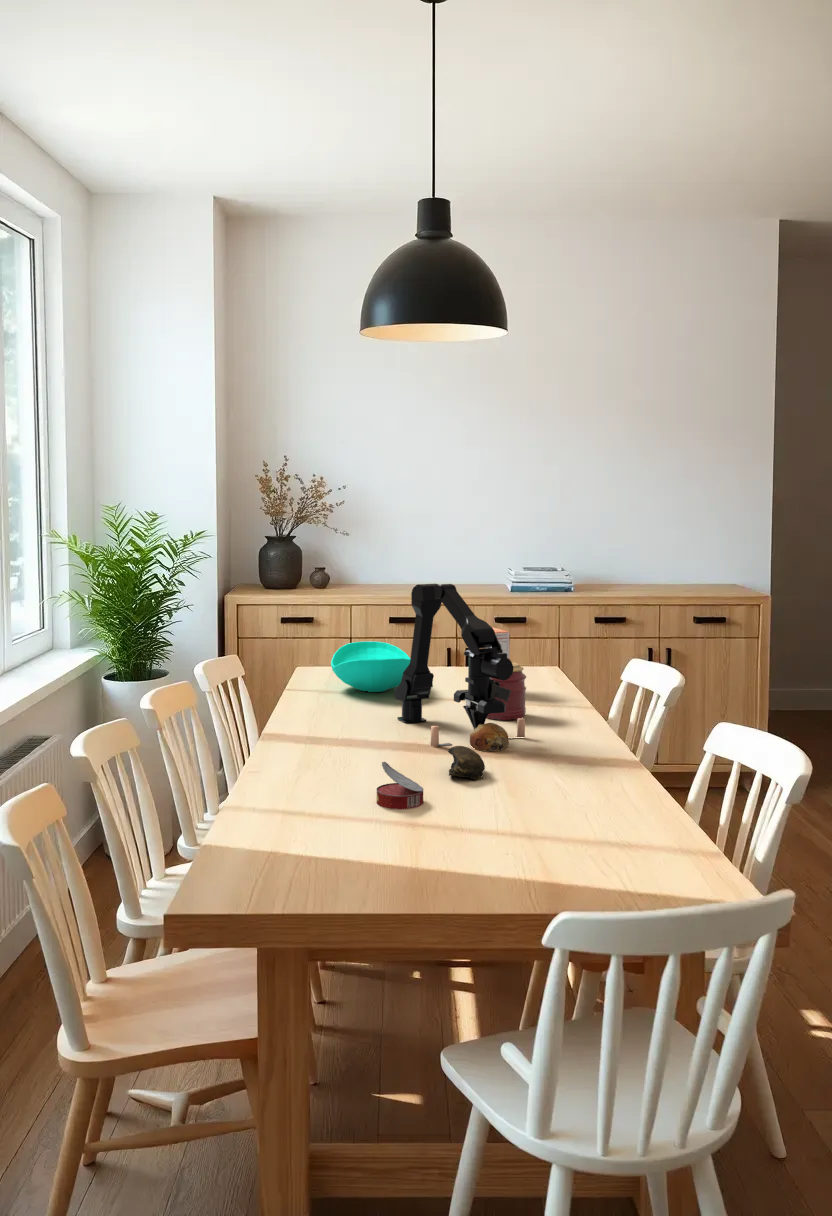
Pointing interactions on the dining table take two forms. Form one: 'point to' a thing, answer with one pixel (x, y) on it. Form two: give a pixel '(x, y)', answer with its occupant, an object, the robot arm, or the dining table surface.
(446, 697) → the dining table surface
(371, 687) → the table top decor
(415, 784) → the canned food
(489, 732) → the bread roll
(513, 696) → the canister
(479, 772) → the seashell
